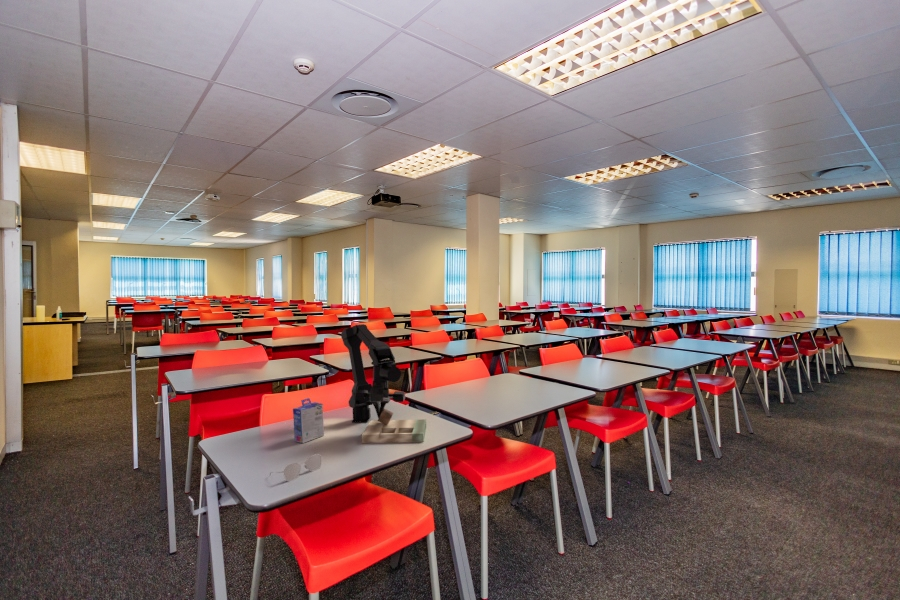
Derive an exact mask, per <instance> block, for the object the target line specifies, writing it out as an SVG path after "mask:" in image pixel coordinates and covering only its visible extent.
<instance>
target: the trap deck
mask: <svg viewBox="0 0 900 600" xmlns="http://www.w3.org/2000/svg"><path fill="white" fill-rule="evenodd" d="M426 430H427V419H390V421H389V423H388V425H385V424H383V423H381V422H379V421H378V419H377V420H375V419H374V420H373V419H372V420H370V421H369V422H368V424H367V426H366V427H365V428H364V430H363V432H362V434H361V443H362V444H377V443H378V444H382V443H384V444H385V443H424V442H425V435H426V432H427V431H426Z"/></svg>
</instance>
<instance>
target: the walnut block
mask: <svg viewBox="0 0 900 600" xmlns="http://www.w3.org/2000/svg"><path fill="white" fill-rule="evenodd" d="M393 415H394V412H392V411H391V410H388V409H387V408H385V407H384V410H383V411H382V413H381V415H380V417H379V418H378V419H377V420H378V421H379V422H381V423H383V424H385V425H388V423H389V421H390V420H392V417H393Z"/></svg>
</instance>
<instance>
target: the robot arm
mask: <svg viewBox="0 0 900 600" xmlns="http://www.w3.org/2000/svg"><path fill="white" fill-rule="evenodd" d="M340 333H341V334H340V337H341V339H342V342H343V345H344V346H345V348H347V350H348V353H349V360H350V364H351V370H352V377H353V383H354V384H353V386H352V389H351V396H350V397H349V400H348V406H349V407H350V408H352V420H351V423H369V422H368V421H369V420H370V419H371V415H372V414H371V408H370V406H372V405H373V407H374V409H375V412H376V416H377V418H378V419H379V417H380V415H381V413H382V411H383V410H384V408H385V407H386V405H387V404H389V403H390V401H391V399H392V400H393V401H394V402H396V403H397V402H398V403H402V402H404V401H405V399H406V393H405V391H399V390H397V391H396V390H395V391H394V392H393V393H390V389H389V382H391V383H397V382H398V381H399V380H400V379H401V376H402V371H401V369H400V368H399V367H398V366H397V363H396V360H395V359H396V358H395V356H394V354H393V351H392V349H391V346H389V344H387V343H386V342H384V341H382V340H381V341H380V340H379V339H378V338H377V337H376V336H375V335H374V334H373V333H372V332H371V331H370V330H369V328H368V326H367V324H364V323H363V324H362V323H361V324H355V325H353V326H351V327H348V328H344V329H343V330H342V331H341V332H340ZM362 343H363V344H364V345H365V346H366V348H367V349H368V355H369V357H370V359H371V360H372V361H371V363H370V364H371V365H372V367H373V368H372V369H373V370H372V383H369V382H368V381H367V380H366V374H365V368H364V367H365V366H364V361H363V356H362V352H361V351H362V350H361V346H362Z"/></svg>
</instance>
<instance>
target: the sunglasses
mask: <svg viewBox="0 0 900 600" xmlns="http://www.w3.org/2000/svg"><path fill="white" fill-rule="evenodd" d="M322 457H323V456H322V455H321V454H319V453H316V454H312V455H311V456H308V458H307V459H306V461H304V462H300V463H298V462H293V463H292V462H291V463H289V464H288V465H286V466H285V467H284V469H283V471H275V473H278V474H279V473H281V474H283V476H284V478H285V480H286V481H287V482H292V481H294V480H296V479H298V478H299V476H300V473H301V465H302V464H304V468H305V470H308V471H310V472H311V473H312V472H314V471H318V470H319V469H320V468H321V466H322ZM271 473H273V474H274V471H270V473H269V475H271Z"/></svg>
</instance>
